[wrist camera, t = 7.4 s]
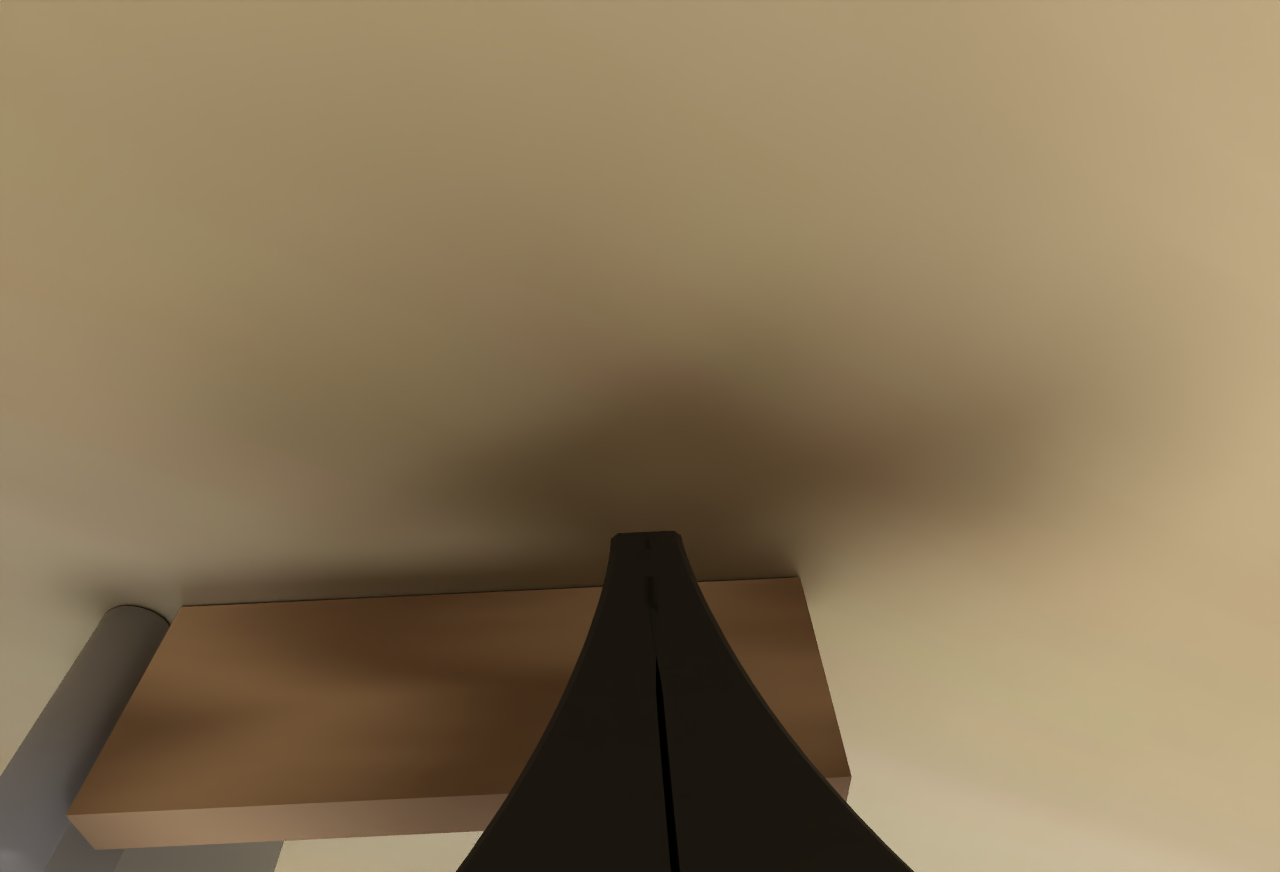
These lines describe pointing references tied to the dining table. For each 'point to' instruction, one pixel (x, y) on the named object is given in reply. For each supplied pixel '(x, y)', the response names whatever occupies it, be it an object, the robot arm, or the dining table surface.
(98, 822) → the door
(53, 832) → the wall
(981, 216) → the dining table surface
